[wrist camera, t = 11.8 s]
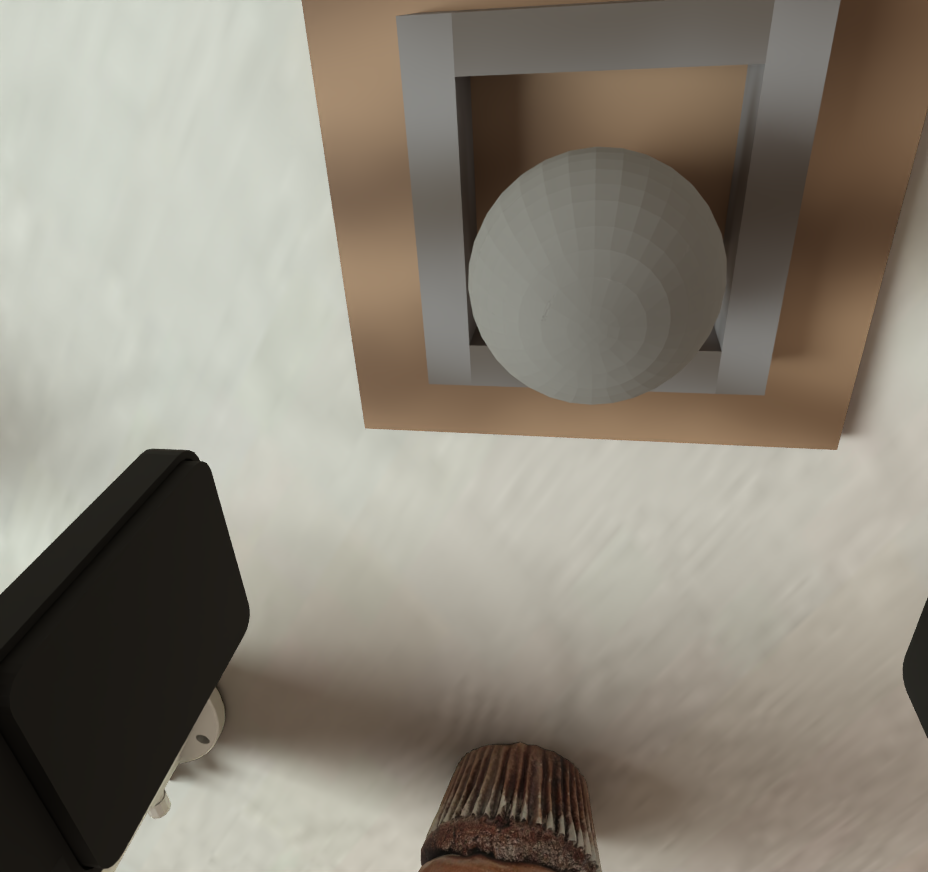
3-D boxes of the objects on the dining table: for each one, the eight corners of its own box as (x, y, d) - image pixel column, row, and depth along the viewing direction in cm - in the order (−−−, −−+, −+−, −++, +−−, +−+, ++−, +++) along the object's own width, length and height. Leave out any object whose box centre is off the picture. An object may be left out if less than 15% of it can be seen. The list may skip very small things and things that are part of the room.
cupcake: (478, 834, 46) (449, 1021, 38) (415, 740, 42) (366, 928, 34) (624, 824, 43) (627, 1028, 34) (571, 721, 39) (560, 925, 30)
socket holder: (829, 435, 27) (856, 490, 24) (371, 415, 30) (346, 462, 27) (990, -189, 17) (1066, -224, 15) (296, -123, 21) (244, -140, 18)
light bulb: (524, 309, 25) (489, 470, 17) (481, 133, 22) (412, 222, 14) (700, 273, 24) (759, 431, 15) (678, 79, 21) (734, 142, 12)
